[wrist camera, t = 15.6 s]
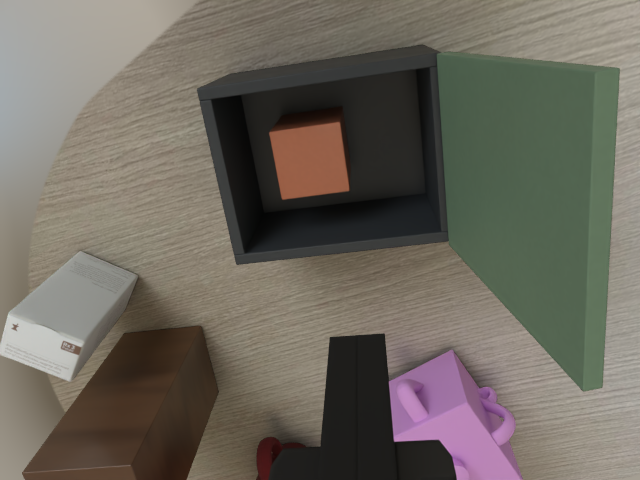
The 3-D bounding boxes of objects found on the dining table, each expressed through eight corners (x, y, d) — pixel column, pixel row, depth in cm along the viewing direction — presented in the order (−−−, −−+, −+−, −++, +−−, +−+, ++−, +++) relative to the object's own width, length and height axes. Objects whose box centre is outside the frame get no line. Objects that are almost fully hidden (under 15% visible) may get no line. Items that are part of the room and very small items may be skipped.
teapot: (540, 438, 56) (577, 523, 47) (422, 490, 60) (434, 578, 50) (453, 308, 51) (475, 374, 41) (330, 374, 55) (325, 448, 45)
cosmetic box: (69, 284, 52) (-9, 357, 41) (81, 246, 51) (3, 311, 40) (129, 309, 53) (69, 388, 42) (143, 272, 51) (84, 343, 40)
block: (281, 115, 44) (268, 132, 38) (342, 106, 44) (340, 121, 37) (292, 174, 46) (281, 200, 40) (350, 166, 45) (350, 191, 39)
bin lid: (583, 392, 22) (603, 388, 22) (595, 71, 17) (620, 67, 17) (448, 245, 37) (460, 242, 37) (436, 53, 33) (449, 51, 33)
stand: (124, 333, 54) (21, 472, 38) (201, 325, 53) (131, 465, 37) (145, 398, 57) (58, 554, 40) (218, 392, 56) (161, 549, 40)
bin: (258, 219, 49) (236, 265, 40) (229, 73, 44) (196, 88, 35) (434, 198, 47) (453, 241, 38) (423, 44, 42) (441, 52, 33)
